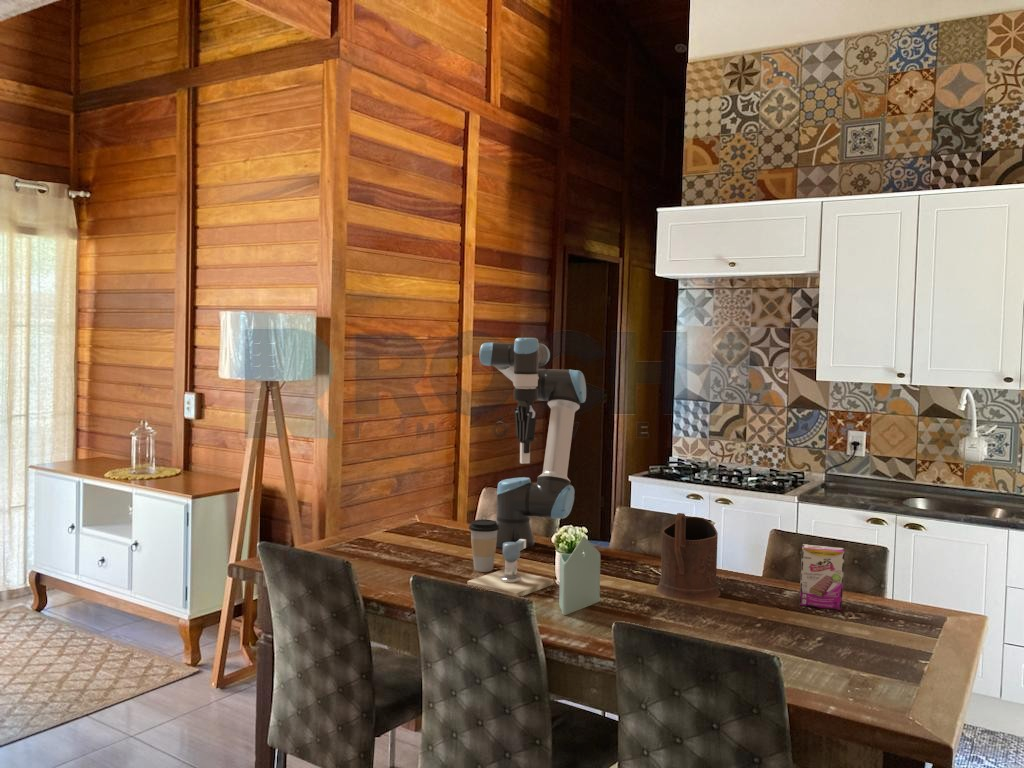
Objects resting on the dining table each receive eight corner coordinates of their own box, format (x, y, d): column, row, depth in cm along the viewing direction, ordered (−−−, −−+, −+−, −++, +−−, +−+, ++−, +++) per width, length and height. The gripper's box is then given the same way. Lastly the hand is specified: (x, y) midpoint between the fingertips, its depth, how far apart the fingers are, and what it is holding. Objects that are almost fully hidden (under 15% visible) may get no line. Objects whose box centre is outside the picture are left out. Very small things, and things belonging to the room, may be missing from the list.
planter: (576, 595, 245) (578, 526, 244) (600, 601, 240) (601, 531, 239) (541, 609, 232) (542, 536, 231) (564, 615, 227) (566, 541, 226)
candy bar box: (799, 606, 239) (801, 547, 238) (799, 601, 243) (801, 543, 243) (842, 611, 235) (845, 551, 234) (842, 605, 240) (844, 547, 239)
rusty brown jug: (726, 587, 256) (729, 503, 254) (709, 609, 234) (711, 518, 233) (665, 578, 264) (667, 497, 262) (642, 600, 242) (645, 511, 240)
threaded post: (508, 576, 258) (509, 554, 258) (524, 579, 254) (525, 558, 254) (496, 580, 253) (496, 558, 253) (512, 584, 249) (512, 562, 249)
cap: (515, 560, 250) (516, 546, 250) (499, 558, 252) (500, 544, 252) (530, 550, 262) (531, 537, 261) (515, 548, 263) (515, 535, 263)
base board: (505, 573, 266) (505, 568, 266) (553, 584, 255) (553, 579, 255) (467, 586, 252) (467, 581, 252) (516, 598, 241) (516, 593, 241)
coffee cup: (499, 566, 275) (500, 519, 274) (496, 574, 265) (497, 525, 264) (470, 564, 276) (471, 518, 275) (466, 572, 266) (466, 524, 265)
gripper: (545, 389, 263) (544, 465, 264) (528, 385, 275) (527, 459, 276) (523, 389, 260) (522, 467, 261) (506, 386, 272) (505, 460, 273)
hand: (524, 463), depth 269 cm, fingers closed
